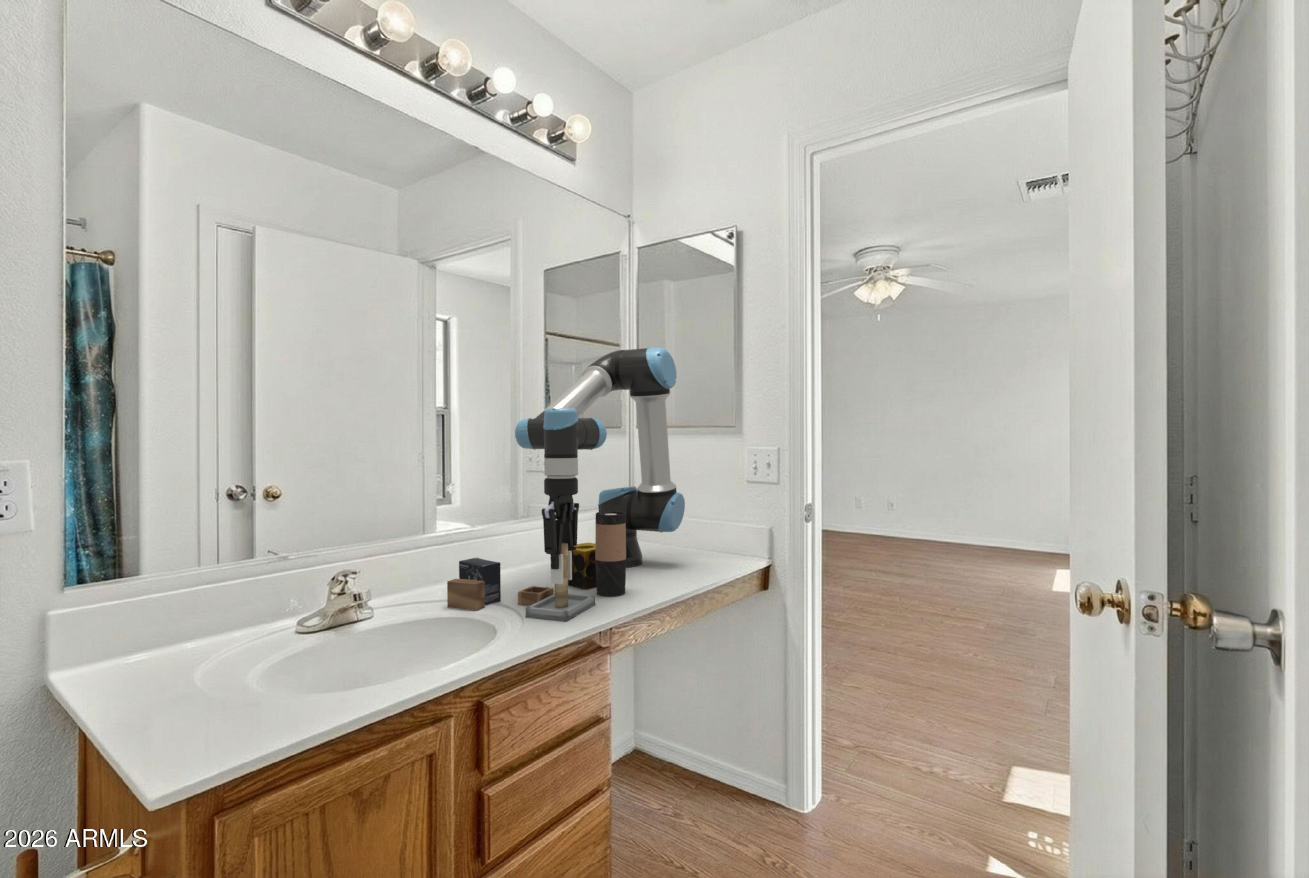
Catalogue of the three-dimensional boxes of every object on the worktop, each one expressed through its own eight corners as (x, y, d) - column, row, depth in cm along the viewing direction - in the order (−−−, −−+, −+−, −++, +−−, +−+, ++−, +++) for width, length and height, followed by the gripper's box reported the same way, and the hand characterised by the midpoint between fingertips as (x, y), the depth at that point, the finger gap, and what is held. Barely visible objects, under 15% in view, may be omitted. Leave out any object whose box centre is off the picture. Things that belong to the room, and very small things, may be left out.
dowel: (558, 603, 143) (558, 542, 143) (570, 605, 142) (570, 543, 142) (552, 607, 141) (551, 544, 140) (564, 608, 139) (563, 545, 139)
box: (458, 600, 151) (457, 560, 151) (477, 595, 156) (477, 556, 155) (482, 606, 145) (481, 565, 145) (501, 601, 150) (501, 561, 150)
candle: (614, 583, 167) (614, 546, 167) (585, 590, 160) (585, 551, 160) (589, 577, 174) (589, 541, 174) (560, 584, 167) (560, 546, 167)
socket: (531, 598, 152) (531, 585, 152) (553, 600, 150) (553, 587, 150) (518, 604, 147) (518, 591, 147) (540, 606, 144) (540, 593, 144)
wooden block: (455, 604, 147) (455, 578, 147) (484, 607, 144) (484, 581, 144) (447, 607, 144) (447, 581, 144) (476, 610, 142) (476, 584, 142)
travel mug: (621, 597, 152) (621, 515, 152) (591, 596, 154) (591, 514, 154) (629, 590, 160) (629, 511, 160) (600, 588, 161) (600, 510, 161)
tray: (557, 600, 150) (557, 592, 150) (595, 604, 146) (595, 596, 146) (525, 617, 137) (525, 607, 137) (566, 621, 133) (566, 612, 133)
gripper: (563, 474, 150) (564, 572, 150) (526, 479, 135) (527, 588, 135) (592, 475, 148) (592, 574, 148) (557, 479, 132) (558, 591, 132)
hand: (561, 581), depth 141 cm, fingers open, 3 cm apart
